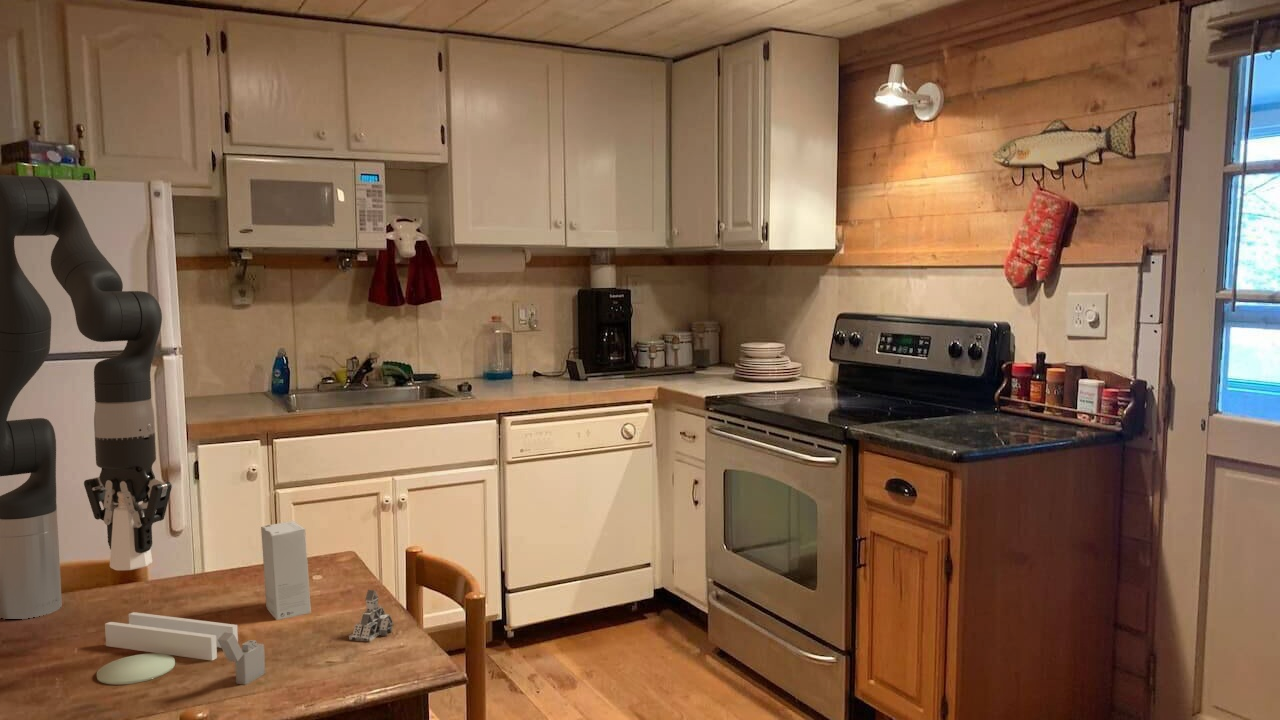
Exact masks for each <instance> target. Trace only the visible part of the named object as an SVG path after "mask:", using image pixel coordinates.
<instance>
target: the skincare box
mask: <svg viewBox="0 0 1280 720" xmlns="http://www.w3.org/2000/svg"><path fill="white" fill-rule="evenodd" d="M260 533H261V544H262V546H261V547H262V549H261V550H262V559H263V562H262V563H263V576H264V577H263V578H264V591H265V604H266V607H265V608H266V609H267V610H268V612H269V613H270V614H271V615H272V617H273V618H274V619H275V620H276V621H280V620H285V619H289V618H290V619H291V618H294V617H298V616H303V615H308V614H312V610H311V609H312V608H311V597H310V581H309V579H310V577H309V566H308V553H307V539H306V528H304V527H303V526H302V525H300V524H298V523H297V522H296V521H294V520H293V521H286V522H279V523H274V524H273V523H272V524H268V525H262V526H260Z"/></svg>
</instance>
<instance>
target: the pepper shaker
mask: <svg viewBox="0 0 1280 720" xmlns="http://www.w3.org/2000/svg"><path fill="white" fill-rule="evenodd" d="M117 495H118V497H119V498H118V499H119V500H118V502H119V503H118V507H116V508H115V509H114V513H113V526H112V540H111V550H110V556H109V567H110V568H111V569H113V570H115V571H133V570H137V569H138V570H139V569H141V568H142V569H144V568H146V567H147V566H149V565H151V564H152V563H153V558H152V557H153V556H152V550H151V548H150V550H149V551H146V552H143V553H137V552H136V551H135V545H134V528H135V527H136V526H135V525H134V521H133V517H132V513H130V512H128V509H127V505H126V501H125V498H124V494H123V493H122V492H117ZM139 503H140V502H137V503H136V504H137V505H140V504H139ZM141 514H142V518H143V517H144V514H143V510H141Z"/></svg>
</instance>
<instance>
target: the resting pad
mask: <svg viewBox="0 0 1280 720" xmlns="http://www.w3.org/2000/svg"><path fill="white" fill-rule="evenodd" d="M175 665H176V660H175V658H174V656H173V655H168V654H160V653H153V652H149V653H140V654H135V655H130V656H125V657H121V658H119V659H115V660H113V661H110V662H108V663H106V664H104V665H103V666H101V667H100V668H99V669H98V670H97V672H96V679H97V681H98V682H100V683H102V684H107V685H113V686H115V685H117V686H119V685H121V686H122V685H131V684H132V685H133V684H138V683H143V682H146V681H151V680H153V679H157V678H160V677H162V676H164V675H165V674H167V673H169V672H170V671H172V670H173V669H174V667H175Z"/></svg>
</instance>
